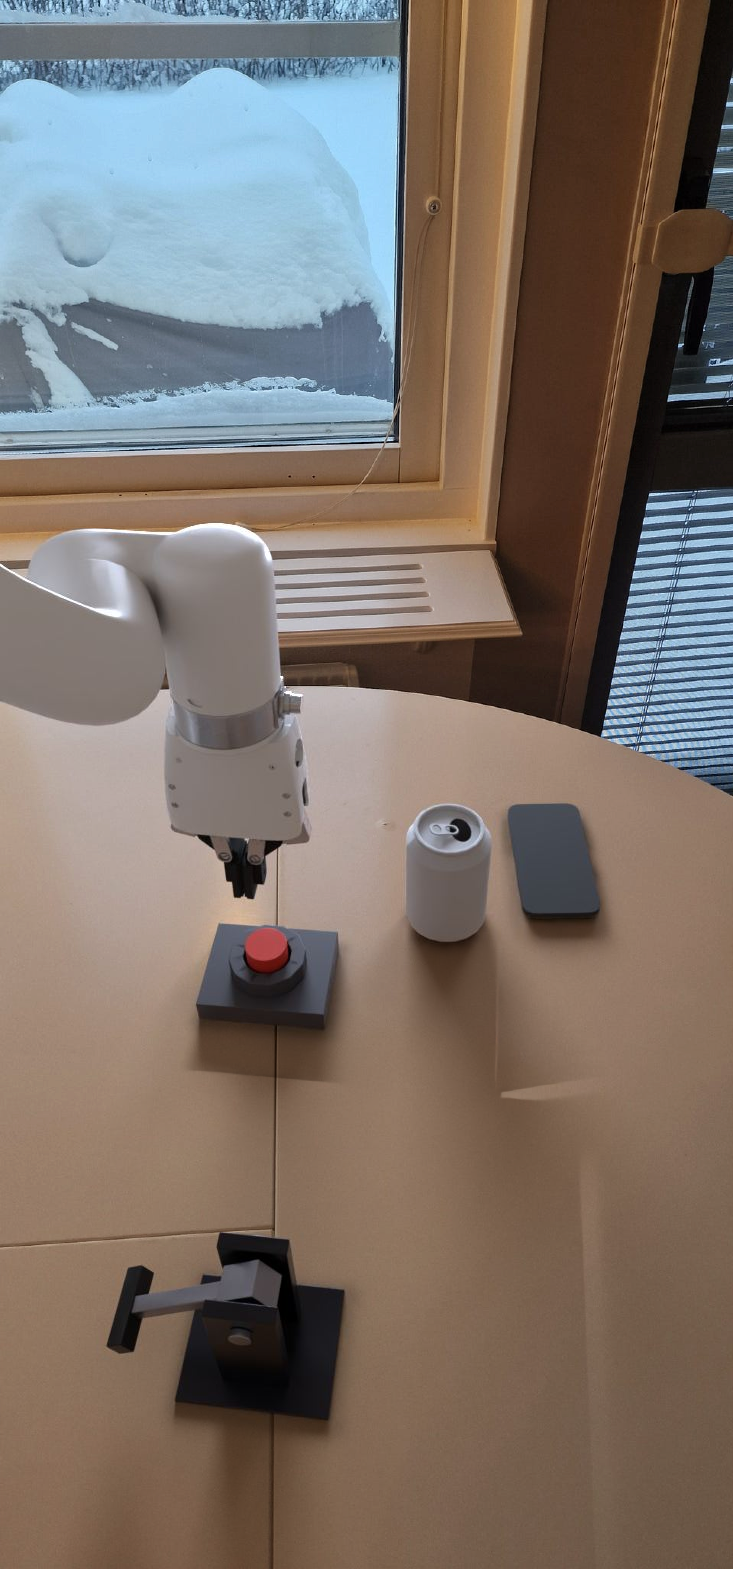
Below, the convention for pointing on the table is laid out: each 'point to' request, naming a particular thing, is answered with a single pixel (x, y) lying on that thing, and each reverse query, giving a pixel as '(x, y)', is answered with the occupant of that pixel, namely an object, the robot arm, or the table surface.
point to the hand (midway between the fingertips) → (247, 885)
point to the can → (447, 872)
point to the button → (266, 950)
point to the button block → (269, 979)
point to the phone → (552, 861)
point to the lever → (187, 1297)
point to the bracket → (264, 1341)
